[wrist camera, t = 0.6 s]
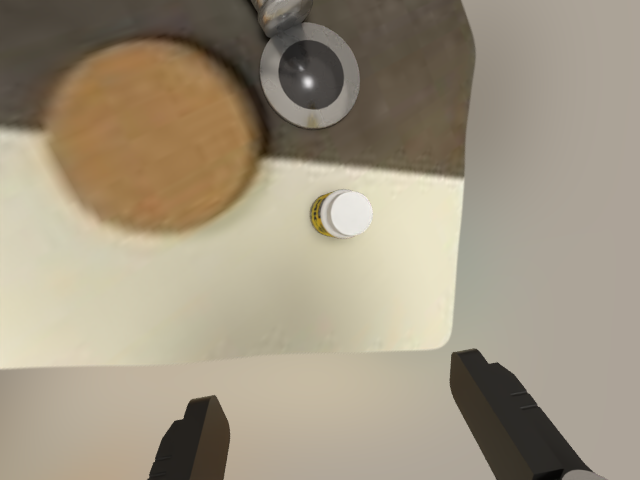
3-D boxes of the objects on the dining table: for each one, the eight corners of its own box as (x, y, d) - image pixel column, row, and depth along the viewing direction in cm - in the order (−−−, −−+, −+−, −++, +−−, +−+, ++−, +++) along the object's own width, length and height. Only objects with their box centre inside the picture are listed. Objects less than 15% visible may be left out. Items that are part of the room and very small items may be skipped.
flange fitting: (195, -21, 31) (184, -73, 25) (288, -62, 33) (295, -120, 27) (294, 147, 34) (302, 132, 28) (374, 101, 36) (396, 79, 30)
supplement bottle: (306, 196, 35) (323, 188, 26) (346, 192, 36) (374, 183, 27) (311, 238, 35) (330, 243, 27) (351, 233, 36) (380, 236, 28)
